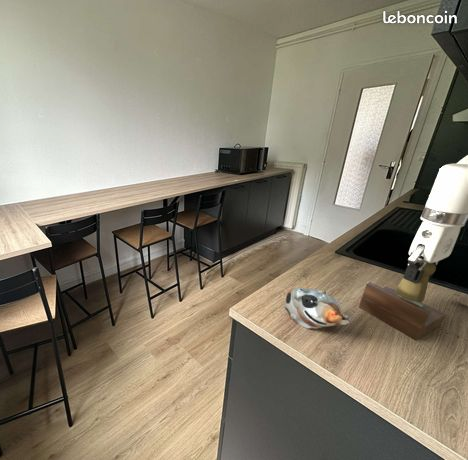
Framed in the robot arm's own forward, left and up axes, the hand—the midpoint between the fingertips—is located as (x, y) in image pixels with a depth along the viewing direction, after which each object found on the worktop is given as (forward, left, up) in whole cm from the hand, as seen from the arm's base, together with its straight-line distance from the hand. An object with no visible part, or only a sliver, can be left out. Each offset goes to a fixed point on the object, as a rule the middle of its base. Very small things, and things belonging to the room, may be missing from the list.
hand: (417, 277), depth 69 cm
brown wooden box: (+2, 0, -13) cm, 13 cm away
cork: (0, 0, -6) cm, 6 cm away
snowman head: (+25, -9, -13) cm, 30 cm away
